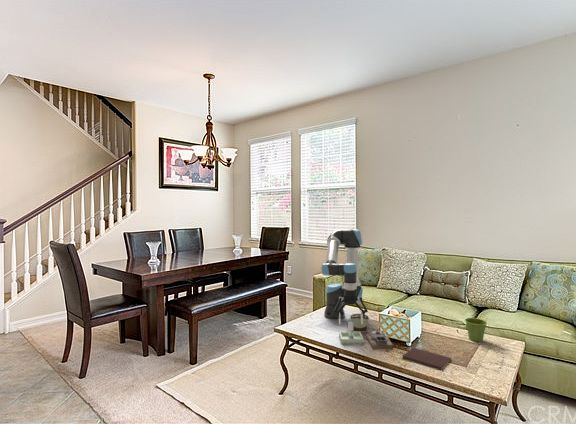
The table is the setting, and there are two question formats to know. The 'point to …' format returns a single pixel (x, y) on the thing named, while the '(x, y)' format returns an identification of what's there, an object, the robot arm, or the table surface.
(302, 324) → the table surface
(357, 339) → the tray
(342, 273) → the robot arm
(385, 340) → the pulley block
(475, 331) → the plant pot
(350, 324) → the pin
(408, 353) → the notebook
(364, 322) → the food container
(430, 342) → the table surface
